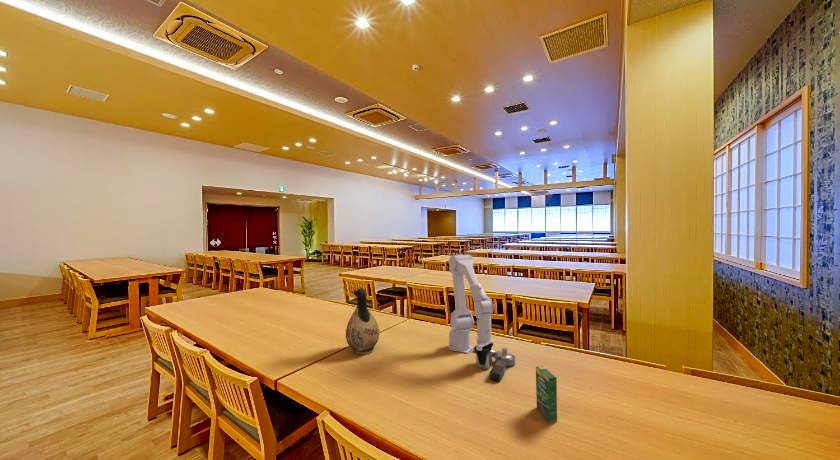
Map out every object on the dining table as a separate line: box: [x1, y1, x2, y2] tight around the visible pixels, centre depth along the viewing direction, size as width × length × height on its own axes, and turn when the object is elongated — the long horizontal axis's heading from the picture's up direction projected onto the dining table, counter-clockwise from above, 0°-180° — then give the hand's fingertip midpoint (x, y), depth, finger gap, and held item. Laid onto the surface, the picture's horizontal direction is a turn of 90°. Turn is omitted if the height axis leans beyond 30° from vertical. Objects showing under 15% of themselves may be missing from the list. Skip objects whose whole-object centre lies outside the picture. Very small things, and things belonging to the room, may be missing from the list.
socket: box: [475, 350, 493, 371], centre depth 126 cm, size 5×5×6 cm
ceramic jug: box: [345, 287, 380, 355], centre depth 142 cm, size 17×15×30 cm
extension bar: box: [472, 347, 502, 356], centre depth 138 cm, size 13×2×2 cm, turn 62°
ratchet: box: [489, 346, 516, 383], centre depth 123 cm, size 8×20×6 cm, turn 152°
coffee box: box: [535, 365, 558, 423], centre depth 94 cm, size 8×3×13 cm, turn 6°
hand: (484, 361), depth 127 cm, fingers closed on socket, 5 cm apart
